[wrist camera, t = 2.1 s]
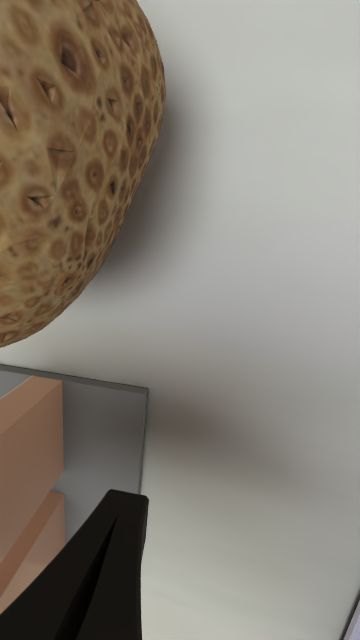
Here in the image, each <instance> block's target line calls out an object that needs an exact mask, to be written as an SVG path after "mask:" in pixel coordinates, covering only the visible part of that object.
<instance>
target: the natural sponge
mask: <svg viewBox="0 0 360 640" xmlns="http://www.w3.org/2000/svg"><path fill="white" fill-rule="evenodd" d="M165 96H166V91H165V78H164V67H163V63H162V59H161V56H160V52H159V48H158V44H157V41H156V38H155V36H154V34H153V31H152V29H151V26H150V24H149V22H148V19H147V18H146V16H145V14H144V13H143V11H142V10H141V8H140V6H139V5H138V2H137V1H136V0H0V348H2V347H4V346H7V345H10V344H12V343H15V342H18V341H20V340H23V339H25V338H27V337H29V336H31V335H32V334H34V333H36V332H38V331H40V330H42V329H43V328H44V327H46V326H47V325H48V324H49V323H50V322H52V321H53V320H54V319H55V318H56V317H58V316H59V315H60V314H61V313H62V312H63V311H64V310H65V309H66V308H67V307H68V306H69V305H70V304H71V303H72V302H73V301H74V300H75V299H76V298H77V297H78V296H79V295H80V294H81V292H82V291H83V290H84V288H85V287H86V286H87V285H88V284H89V282H90V281H91V280H92V278H93V277H94V276H95V275H96V273H97V272H98V271H99V269H100V267H101V265H102V264H103V262H104V260H105V258H106V256H107V254H108V253H109V251H110V249H111V247H112V245H113V243H114V241H115V240H116V238H117V235H118V233H119V231H120V228H121V226H122V224H123V221H124V219H125V216H126V214H127V212H128V209H129V207H130V205H131V202H132V200H133V198H134V195H135V193H136V191H137V188H138V186H139V184H140V182H141V179H142V177H143V175H144V172H145V170H146V167H147V165H148V162H149V160H150V157H151V154H152V152H153V149H154V147H155V144H156V142H157V139H158V136H159V132H160V128H161V123H162V113H163V107H164V102H165Z"/></svg>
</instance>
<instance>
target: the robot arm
mask: <svg viewBox="0 0 360 640" xmlns="http://www.w3.org/2000/svg"><path fill="white" fill-rule="evenodd" d="M148 504H149V499H148V498H147V496H144V495H139V494H134V493H129V492H124V491H119V490H115V489H110V490H108V491H107V493H106V494H105V496H104V497H103V498H102V500H101V501H100V503H99V504H98V505H97V507H96V508H95V509H94V511H93V512H92V513H91V514H90V516H89V517H88V518H87V520H86V521H85V522H84V523H83V525H82V526H81V527H80V528H79V530H78V531H77V532H76V533H75V534H74V535H73V537H72V538H71V539H70V540H69V541H68V543H67V544H66V545H65V546H64V547H63V549H62V550H61V551H60V552H59V553H58V554H57V555H56V557H55V558H54V559H53V560H52V561H51V562H50V563H49V564H48V565H47V566H46V567H45V569H44V570H43V571H42V572H41V573H40V574H39V575H38V576H37V577H36V578H35V579H34V581H33V582H32V583H31V584H30V585H29V586H28V587H27V588H26V589H25V590H24V591H23V592H22V593H21V594H20V595H19V596H18V597H17V598H16V599H15V600H14V601H13V602H12V603H11V604H10V605H9V606H8V607H7V608H6V609H5V610H4V611H3V612H2V613H1V614H0V640H142V628H141V561H142V554H143V549H144V544H145V538H146V527H147V516H148ZM344 640H360V601H359V603H358V605H357V608H356V610H355V613H354V615H353V618H352V620H351V622H350V625H349V627H348V630H347V632H346V635H345V637H344Z"/></svg>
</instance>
